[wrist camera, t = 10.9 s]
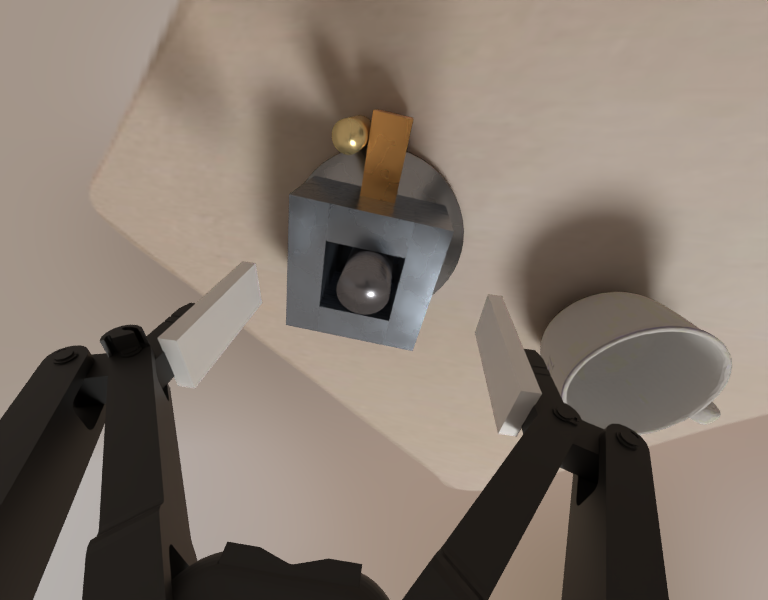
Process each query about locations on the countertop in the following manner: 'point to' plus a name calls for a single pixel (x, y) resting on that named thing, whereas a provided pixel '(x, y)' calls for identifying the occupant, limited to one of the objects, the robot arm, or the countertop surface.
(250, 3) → the countertop surface
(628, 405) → the teacup
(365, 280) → the rod on disc base
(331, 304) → the grey hollow block
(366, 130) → the dowel pin
